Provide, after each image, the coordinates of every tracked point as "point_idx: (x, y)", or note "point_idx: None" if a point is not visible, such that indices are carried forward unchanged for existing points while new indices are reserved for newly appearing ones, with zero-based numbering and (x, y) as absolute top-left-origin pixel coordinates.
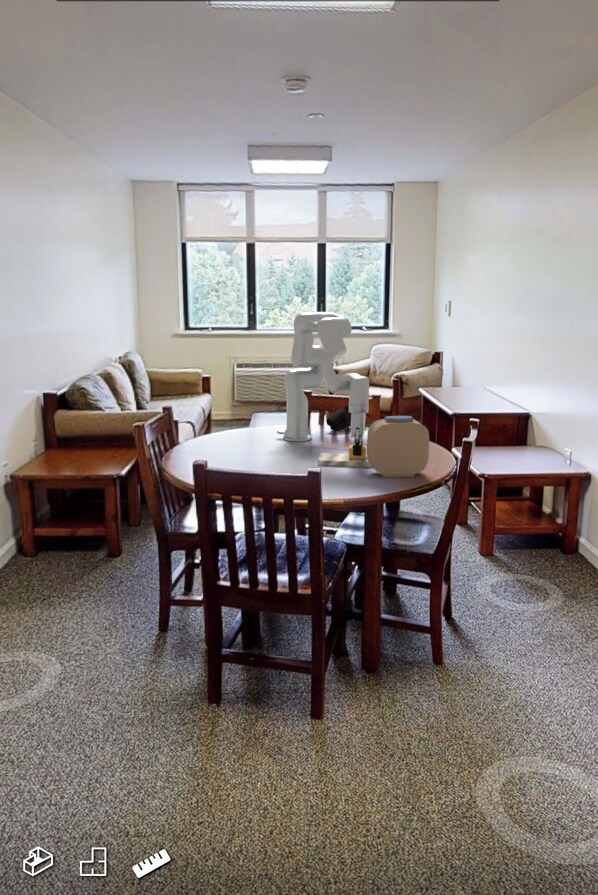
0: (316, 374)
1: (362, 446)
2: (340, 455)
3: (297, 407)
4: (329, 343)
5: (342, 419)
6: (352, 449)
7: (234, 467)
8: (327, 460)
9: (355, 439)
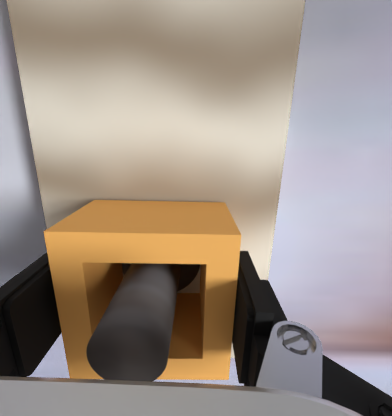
0: None
1: (203, 347)
2: (217, 123)
3: None
4: None
5: None
6: (56, 261)
7: None
8: (8, 2)
9: (267, 342)
